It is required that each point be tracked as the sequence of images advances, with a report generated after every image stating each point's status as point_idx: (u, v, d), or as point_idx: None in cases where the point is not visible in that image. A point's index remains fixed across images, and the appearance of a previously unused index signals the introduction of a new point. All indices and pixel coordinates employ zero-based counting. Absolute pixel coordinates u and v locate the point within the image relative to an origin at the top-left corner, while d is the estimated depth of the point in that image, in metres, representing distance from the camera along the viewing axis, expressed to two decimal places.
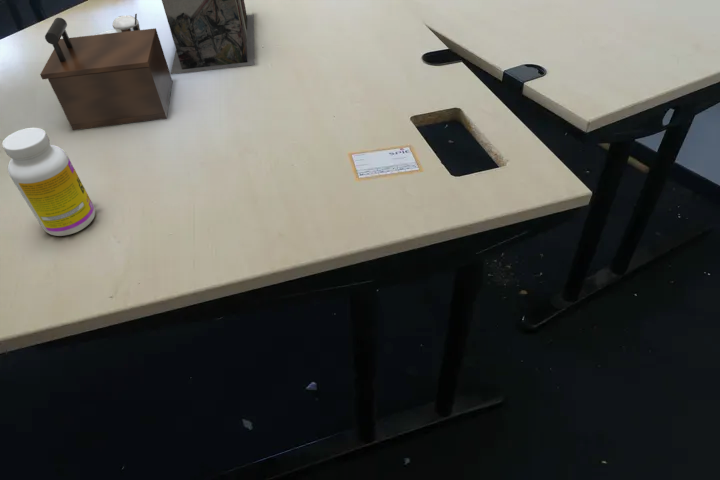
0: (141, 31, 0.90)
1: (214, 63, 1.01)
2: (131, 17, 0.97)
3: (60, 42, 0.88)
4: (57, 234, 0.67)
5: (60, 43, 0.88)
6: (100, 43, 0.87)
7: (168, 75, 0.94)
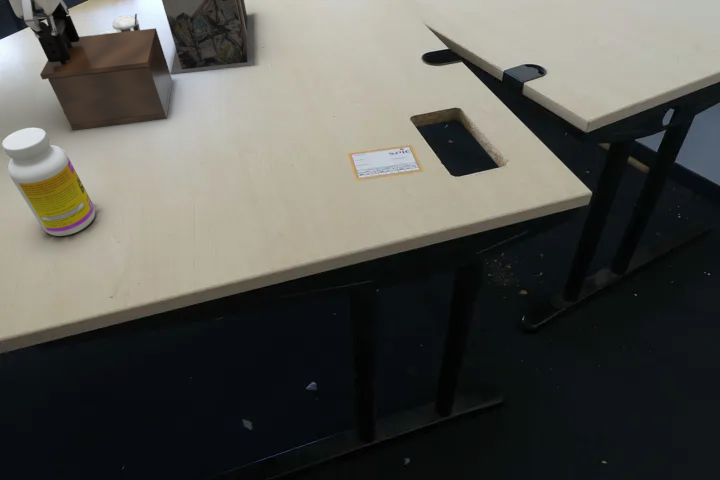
0: (141, 31, 0.90)
1: (214, 63, 1.01)
2: (131, 17, 0.97)
3: None
4: (57, 234, 0.67)
5: None
6: (100, 43, 0.87)
7: (168, 75, 0.94)
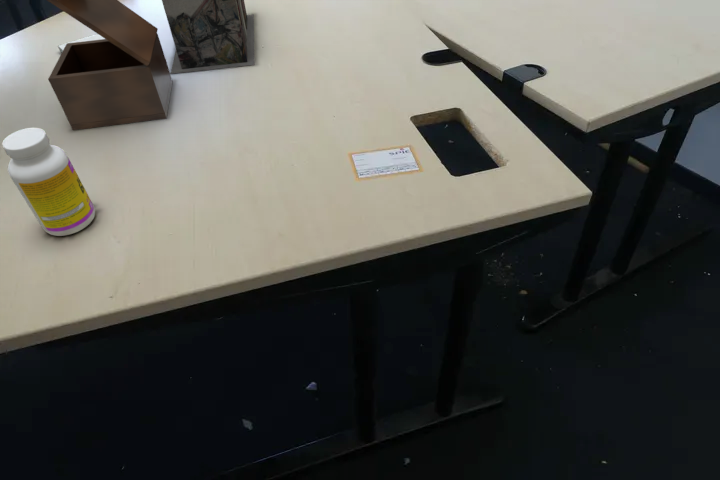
0: (144, 21, 0.88)
1: (214, 63, 1.01)
2: None
3: None
4: (57, 234, 0.67)
5: None
6: (105, 3, 0.83)
7: (168, 75, 0.94)
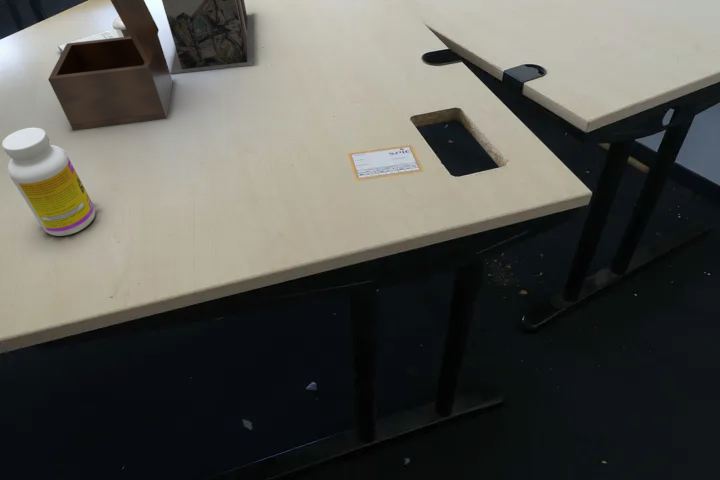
0: (151, 18, 0.88)
1: (214, 63, 1.01)
2: None
3: None
4: (57, 234, 0.67)
5: None
6: None
7: (168, 75, 0.94)
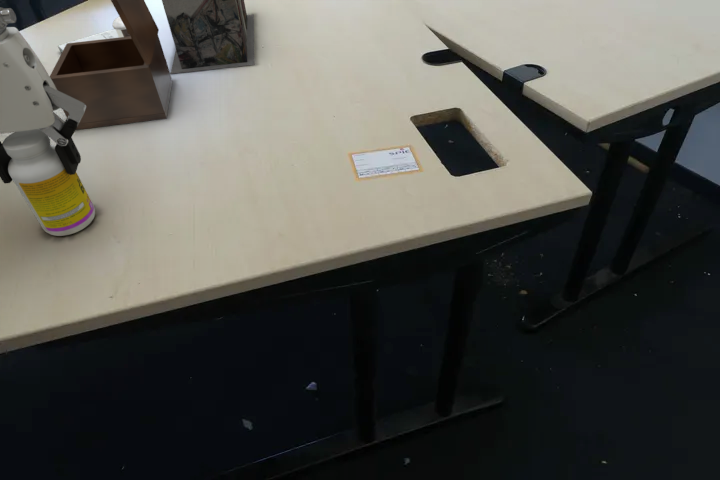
0: (151, 18, 0.88)
1: (214, 63, 1.01)
2: None
3: None
4: (57, 234, 0.67)
5: None
6: None
7: (168, 75, 0.94)
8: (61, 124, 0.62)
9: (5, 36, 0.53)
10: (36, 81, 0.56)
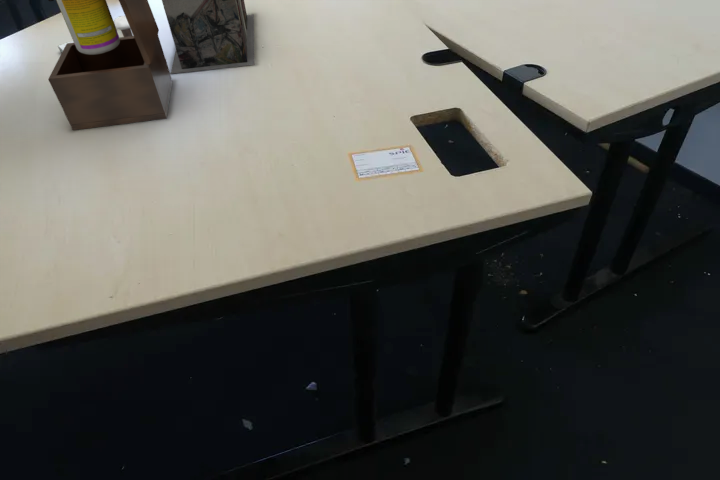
0: (153, 18, 0.88)
1: (214, 63, 1.01)
2: None
3: None
4: (89, 52, 0.82)
5: None
6: None
7: (168, 75, 0.94)
8: None
9: None
10: None
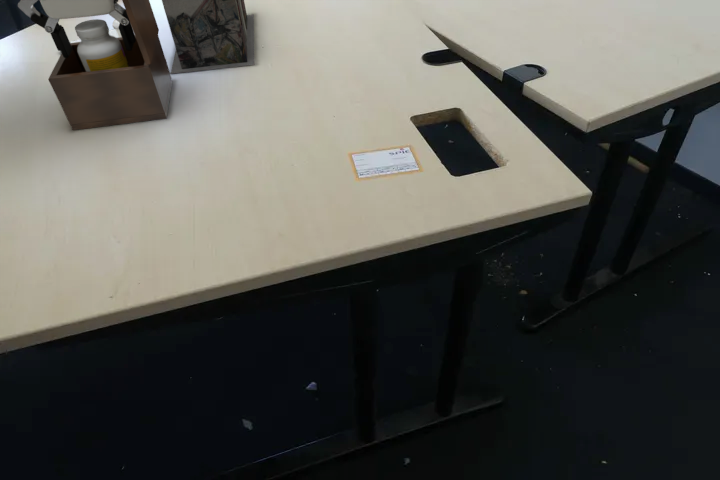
0: (153, 18, 0.88)
1: (214, 63, 1.01)
2: None
3: None
4: None
5: None
6: None
7: (168, 75, 0.94)
8: (123, 9, 0.82)
9: None
10: None
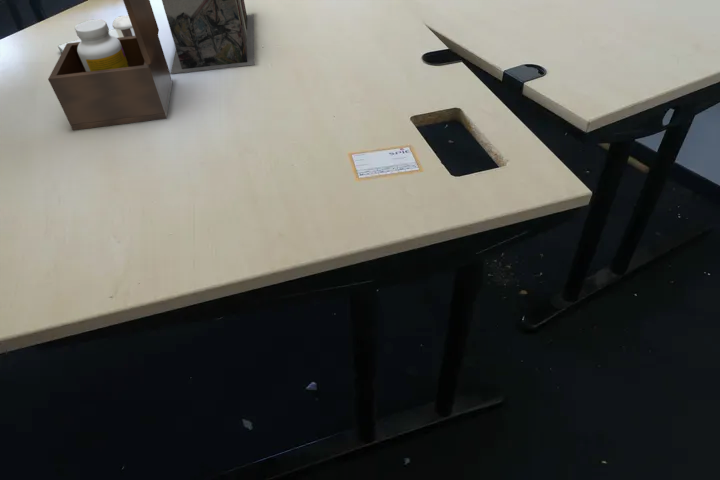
0: (154, 18, 0.88)
1: (214, 63, 1.01)
2: None
3: None
4: None
5: None
6: None
7: (168, 75, 0.94)
8: None
9: None
10: None
